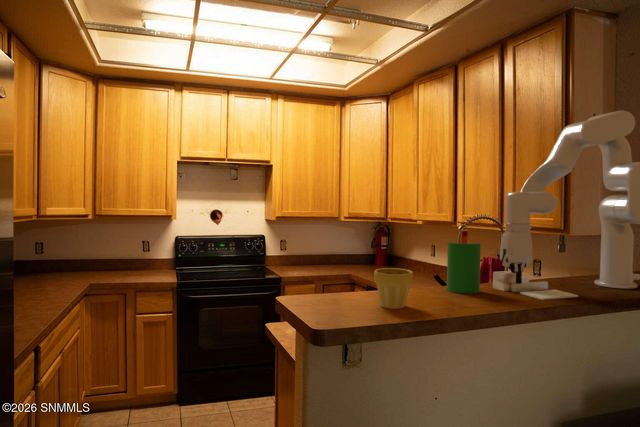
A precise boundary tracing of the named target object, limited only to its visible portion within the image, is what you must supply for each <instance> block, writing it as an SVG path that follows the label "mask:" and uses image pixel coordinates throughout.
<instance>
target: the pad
mask: <svg viewBox="0 0 640 427" xmlns="http://www.w3.org/2000/svg"><path fill="white" fill-rule="evenodd" d="M519 293H520V295H524V296H527V297H530V298H535V299H538V300H543V301H545V300H555V299H557V300H558V299H567V298H579V295H578V294H574V293H570V292H567V291H562V290H558V289H548V290H534V291H520V292H519Z"/></svg>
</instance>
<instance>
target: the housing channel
mask: <svg viewBox="0 0 640 427" xmlns="http://www.w3.org/2000/svg"><path fill="white" fill-rule="evenodd" d="M548 288H549V282H548V281H531V282H530V277H526V276H525V277H524V276H523V277H522V283H512V284H511V290H510V291H511V292H512V293H520V292H529V291H543V290H549V289H548Z"/></svg>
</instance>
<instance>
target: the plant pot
mask: <svg viewBox="0 0 640 427" xmlns="http://www.w3.org/2000/svg"><path fill="white" fill-rule="evenodd" d="M373 275H374V279H373V280H374V284H375V285H376V287H377V288H376V289H377V292H378V297H379V303H380V307H383V308H385V309H390V310H391V309H392V310H397V309H403V308H405V307H406V302H407V299H408V295H409V291H410V286H411V285H412V284H413V281H414V280H413V277H414V276H413V275H414V273H413V271H412V270H410V269H405V268H399V267H398V268H397V267H396V268H395V267H390V268H389V267H383V268H377V269H375V270H374V274H373Z"/></svg>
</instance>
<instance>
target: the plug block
mask: <svg viewBox="0 0 640 427" xmlns="http://www.w3.org/2000/svg"><path fill="white" fill-rule="evenodd" d="M512 283H516V273H512V272H511V271H507V270H504V271H503V270H502V271H498V270H497V271H493V272H492V289H494V290H498V291H501V290H502V292H507V291H511V284H512Z"/></svg>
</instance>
